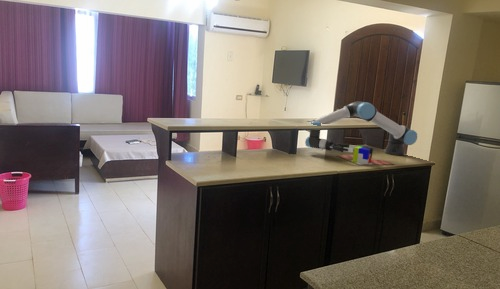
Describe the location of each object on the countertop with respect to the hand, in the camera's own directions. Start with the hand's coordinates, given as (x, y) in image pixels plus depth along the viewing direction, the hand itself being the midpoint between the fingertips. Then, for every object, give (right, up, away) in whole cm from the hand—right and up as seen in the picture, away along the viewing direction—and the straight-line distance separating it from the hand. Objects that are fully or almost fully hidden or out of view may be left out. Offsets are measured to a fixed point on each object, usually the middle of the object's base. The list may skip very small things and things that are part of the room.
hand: (355, 149), depth 272 cm
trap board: (+9, -8, +9) cm, 15 cm away
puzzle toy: (+4, -9, -1) cm, 10 cm away
